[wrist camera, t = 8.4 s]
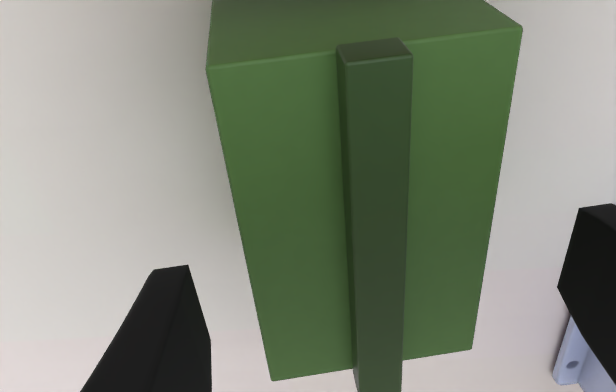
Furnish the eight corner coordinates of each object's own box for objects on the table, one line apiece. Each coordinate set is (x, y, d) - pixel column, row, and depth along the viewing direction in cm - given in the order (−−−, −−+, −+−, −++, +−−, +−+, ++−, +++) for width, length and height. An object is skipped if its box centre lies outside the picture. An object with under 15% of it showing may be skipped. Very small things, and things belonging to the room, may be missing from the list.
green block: (411, 223, 17) (485, 381, 12) (261, 245, 17) (274, 415, 12) (423, -46, 12) (553, 36, 7) (212, -21, 12) (200, 81, 7)
